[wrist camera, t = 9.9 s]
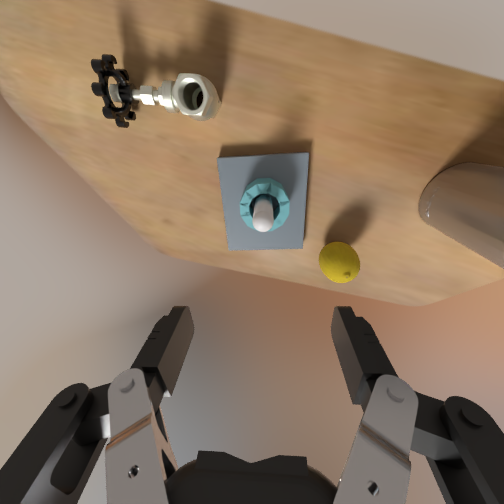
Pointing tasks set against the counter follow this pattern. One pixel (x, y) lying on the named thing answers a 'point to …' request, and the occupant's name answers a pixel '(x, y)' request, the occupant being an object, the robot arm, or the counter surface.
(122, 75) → the valve
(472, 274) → the counter surface
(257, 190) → the collar
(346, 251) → the lemon
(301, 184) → the post stand
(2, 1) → the counter surface
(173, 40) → the counter surface
